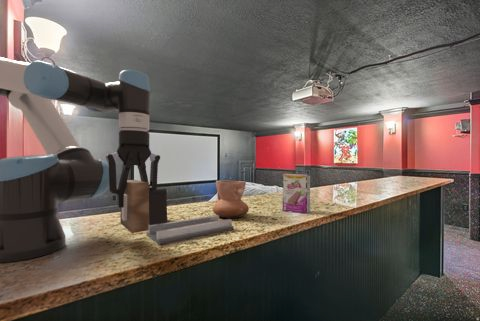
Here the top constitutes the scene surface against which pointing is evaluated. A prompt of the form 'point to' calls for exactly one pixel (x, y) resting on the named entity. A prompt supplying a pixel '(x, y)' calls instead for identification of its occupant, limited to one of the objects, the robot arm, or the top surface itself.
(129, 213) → the brown wooden block
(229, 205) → the ceramic jug
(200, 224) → the door track
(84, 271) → the top surface
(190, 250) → the top surface
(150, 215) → the door stopper
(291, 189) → the candy bar box
